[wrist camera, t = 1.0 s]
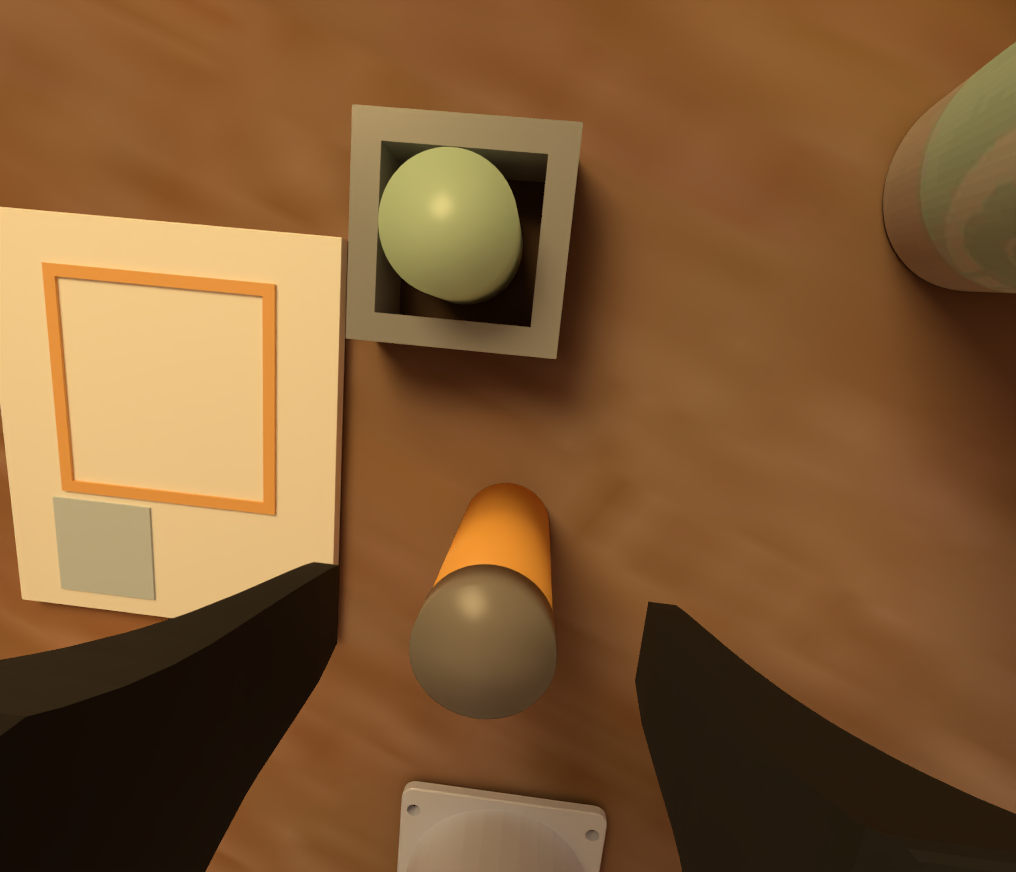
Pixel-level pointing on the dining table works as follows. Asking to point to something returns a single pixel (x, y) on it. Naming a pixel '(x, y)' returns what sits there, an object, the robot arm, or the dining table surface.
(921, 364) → the dining table surface
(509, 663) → the marker
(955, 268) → the coffee cup
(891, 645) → the dining table surface
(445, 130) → the button housing
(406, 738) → the dining table surface
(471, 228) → the button
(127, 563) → the sheet
